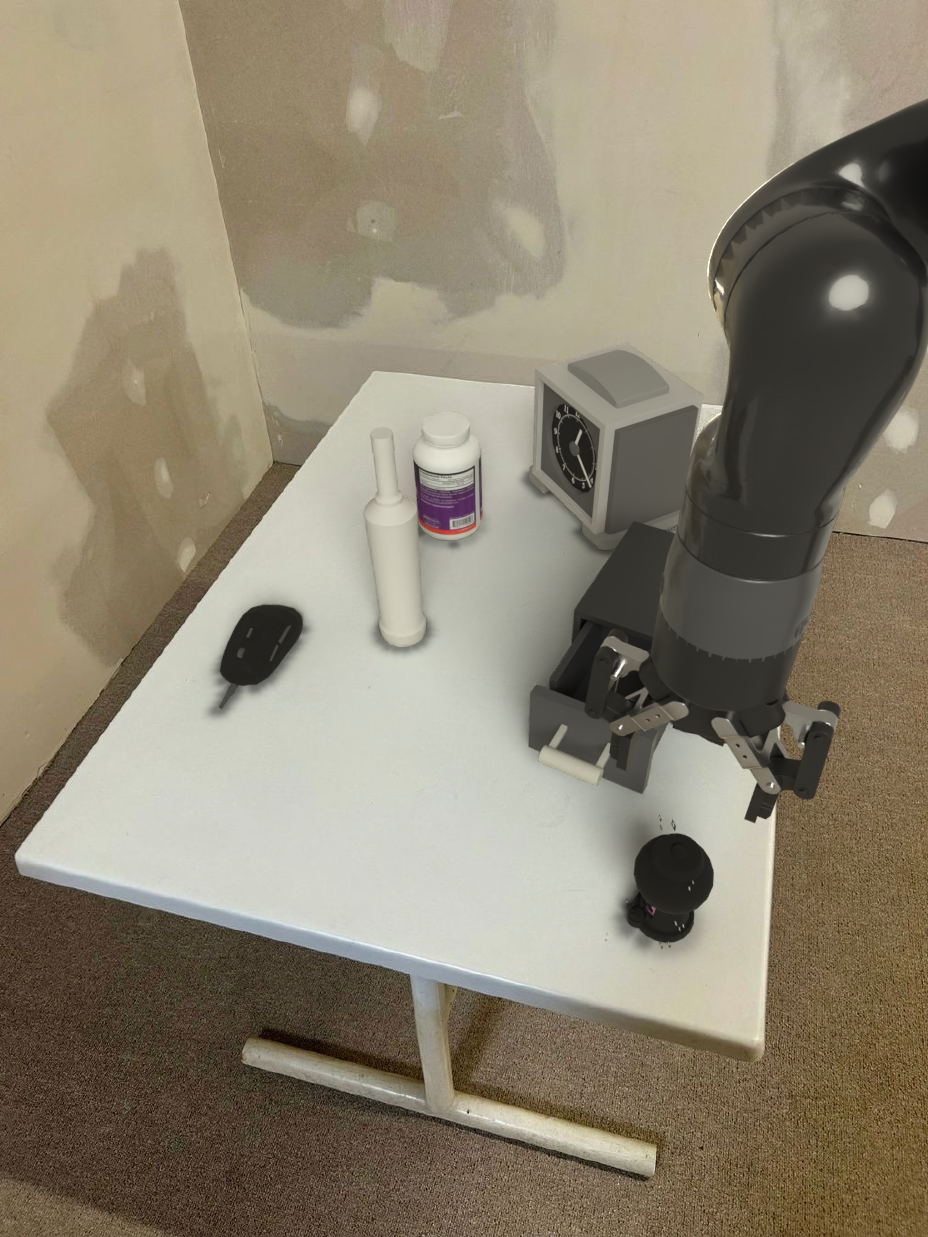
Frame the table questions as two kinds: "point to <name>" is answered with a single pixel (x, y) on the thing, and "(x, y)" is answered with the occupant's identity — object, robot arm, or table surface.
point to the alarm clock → (614, 440)
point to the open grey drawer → (586, 718)
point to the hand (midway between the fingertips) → (687, 785)
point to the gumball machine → (669, 886)
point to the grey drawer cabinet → (628, 584)
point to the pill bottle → (448, 477)
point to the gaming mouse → (259, 644)
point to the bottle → (394, 549)
